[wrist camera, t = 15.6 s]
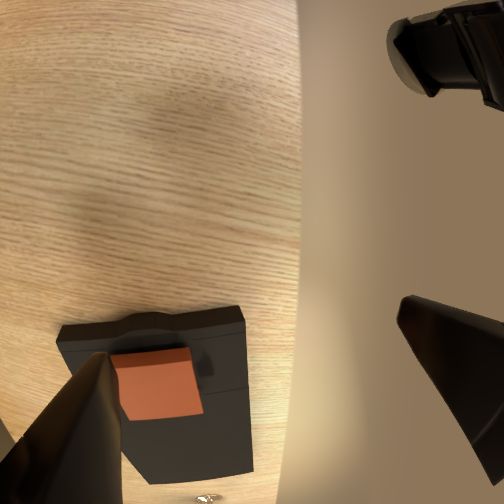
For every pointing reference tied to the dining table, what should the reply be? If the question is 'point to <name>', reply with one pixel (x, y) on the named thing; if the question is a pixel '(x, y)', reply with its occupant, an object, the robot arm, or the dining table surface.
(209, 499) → the wineglass
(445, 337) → the robot arm
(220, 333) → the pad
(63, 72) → the dining table surface
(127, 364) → the reddish orange rectangular block
